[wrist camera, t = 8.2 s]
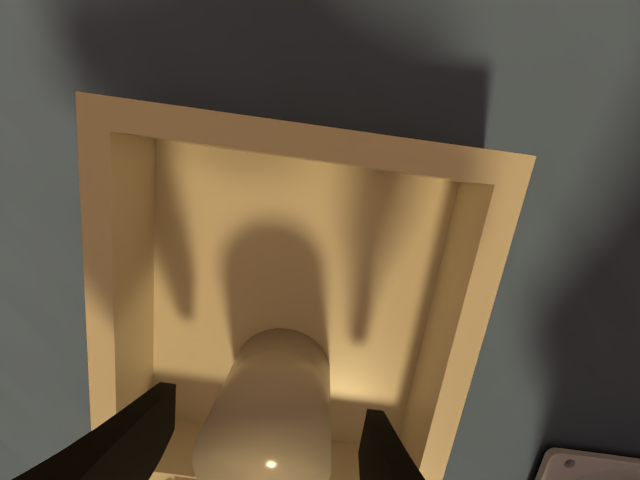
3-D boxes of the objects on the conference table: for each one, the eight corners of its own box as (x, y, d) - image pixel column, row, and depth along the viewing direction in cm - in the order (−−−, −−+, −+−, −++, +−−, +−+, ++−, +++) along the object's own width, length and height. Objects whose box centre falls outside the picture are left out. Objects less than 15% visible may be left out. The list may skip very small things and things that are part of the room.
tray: (483, 160, 12) (536, 156, 9) (408, 456, 15) (428, 526, 12) (139, 111, 12) (75, 91, 9) (139, 421, 15) (93, 482, 12)
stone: (336, 335, 13) (341, 416, 9) (323, 417, 14) (321, 526, 10) (238, 321, 13) (194, 396, 9) (231, 405, 14) (189, 509, 10)
